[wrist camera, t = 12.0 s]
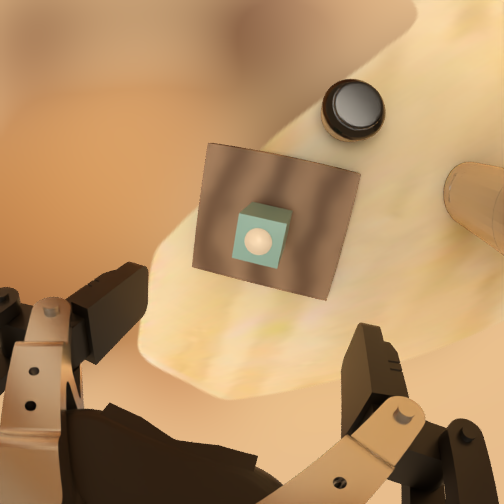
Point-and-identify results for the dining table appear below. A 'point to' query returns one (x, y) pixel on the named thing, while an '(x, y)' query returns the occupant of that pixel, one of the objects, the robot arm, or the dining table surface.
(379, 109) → the supplement bottle
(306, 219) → the brown wooden board
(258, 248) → the green cube with circle
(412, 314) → the dining table surface
